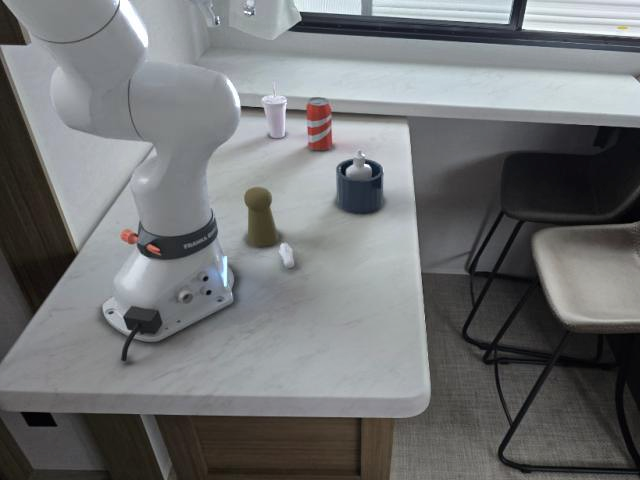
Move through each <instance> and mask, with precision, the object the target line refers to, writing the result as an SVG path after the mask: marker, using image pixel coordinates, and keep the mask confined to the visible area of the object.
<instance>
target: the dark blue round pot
mask: <svg viewBox="0 0 640 480" xmlns="http://www.w3.org/2000/svg"><path fill="white" fill-rule="evenodd" d="M365 164H367V165H369V166H370V167H371V169H372V178H370V179H365V180H356V179H351V178H348V177H346V169H347V168H348V167H350V166H351V165H353V158H350V159H346V160H343V161H341V162H340V163H339V164H338V165H336V169H335V181H336V184H335V185H336V204H337V205H338V207H339V208H340V209H341V210H343V211H345V212H347V213H351V214H355V215H356V214H358V215H359V214H360V215H364V214H370V213H374V212H376V211H378V210H379V209H380V208H381V207H382V205H383V201H384V199H383V198H384V196H383V195H384V176H385V175H384V174H385V172H384V171H385V170H384V167H383V166H382V164H380V163H379V162H377V161H375V160H372V159H369V158H368V159H367V158H365Z"/></svg>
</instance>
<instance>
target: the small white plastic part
mask: <svg viewBox="0 0 640 480" xmlns="http://www.w3.org/2000/svg"><path fill="white" fill-rule="evenodd" d="M278 253H279V255H280V257H281V259H282V261H283V265H284V267H285V268H286V269H291V268H293V267H294V266H295V260H294V256H293V247H290V245H289V244H288V243H287V242H282V243H281V244H280V245H279V249H278Z"/></svg>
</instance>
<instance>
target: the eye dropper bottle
mask: <svg viewBox="0 0 640 480" xmlns="http://www.w3.org/2000/svg"><path fill="white" fill-rule="evenodd" d="M352 157H353V158H352V159H353V165H351V166H350V167H348V168H347V169H346V177H348V178H351V179H356V180H365V179H370V178H372V169H371V167H370V166H369V165H367V164H365V159H366V157H365V154H363V153H362V149H361V148H358V149H357V150H356V153H354V154H353V155H352Z"/></svg>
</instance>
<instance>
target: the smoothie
mask: <svg viewBox="0 0 640 480" xmlns="http://www.w3.org/2000/svg"><path fill="white" fill-rule="evenodd" d="M271 86H272V87H271V88H272V94H267V95H264V96H263V97H261V105H262V106H263V110H264V113H265V119H266V122H267V127H268V131H269V136H270V137H271V138H274V139H281V138H284V137H285V133H286V132H285V130H286V111H287V104H288V101H287V97H286V96H285V95H281V94H276V86H275V80H272V81H271Z"/></svg>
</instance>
